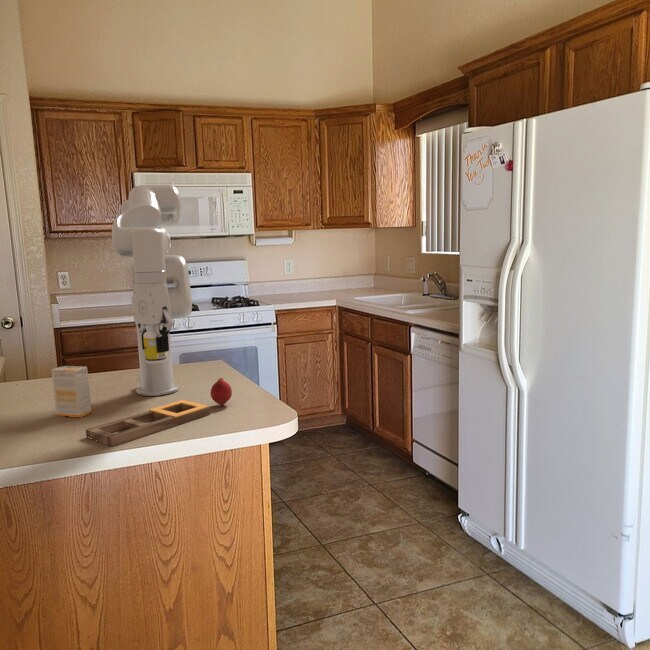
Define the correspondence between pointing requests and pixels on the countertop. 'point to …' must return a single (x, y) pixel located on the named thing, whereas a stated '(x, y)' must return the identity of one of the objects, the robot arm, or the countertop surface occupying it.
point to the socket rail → (138, 428)
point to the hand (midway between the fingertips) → (155, 349)
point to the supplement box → (71, 391)
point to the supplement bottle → (152, 346)
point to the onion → (221, 392)
